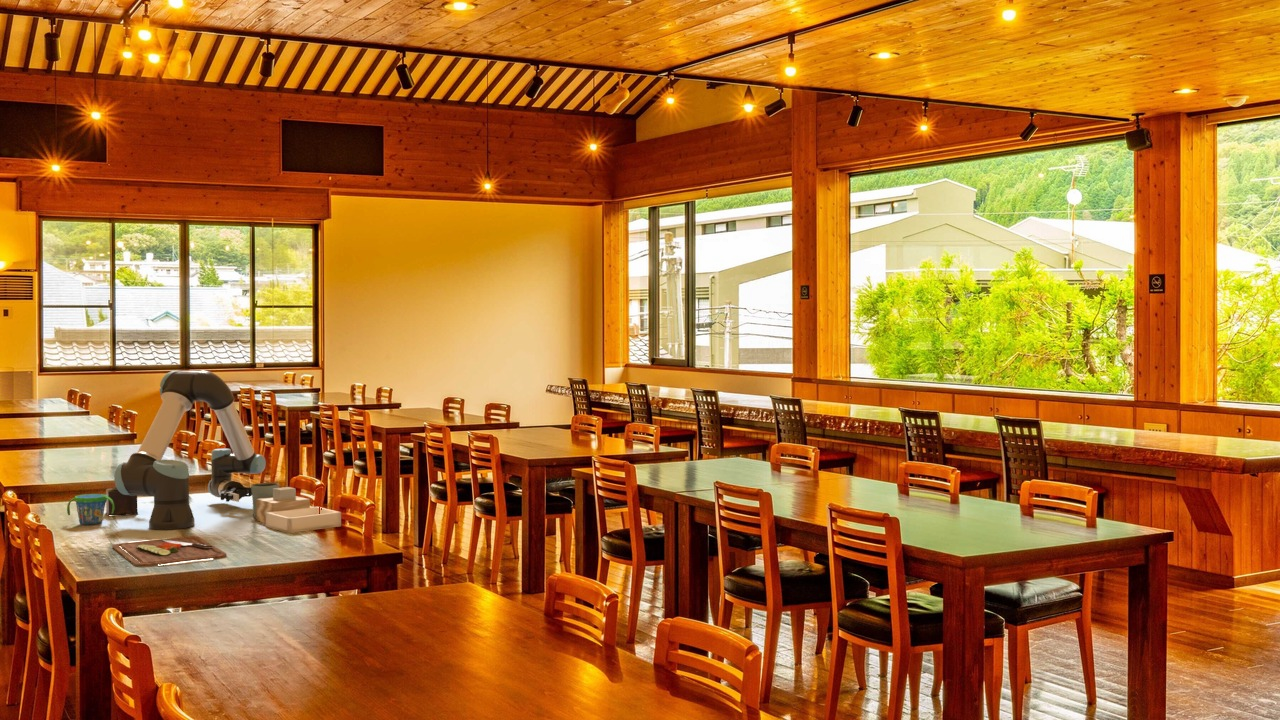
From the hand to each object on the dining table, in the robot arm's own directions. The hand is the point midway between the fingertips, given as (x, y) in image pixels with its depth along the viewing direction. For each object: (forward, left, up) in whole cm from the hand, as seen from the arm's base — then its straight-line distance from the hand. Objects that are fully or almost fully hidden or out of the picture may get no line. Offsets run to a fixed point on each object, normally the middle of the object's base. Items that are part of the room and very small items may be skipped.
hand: (255, 496), depth 454 cm
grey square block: (-7, -24, +2) cm, 25 cm away
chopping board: (-66, -39, -7) cm, 76 cm away
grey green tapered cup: (-3, -9, -7) cm, 11 cm away
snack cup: (-48, +31, -7) cm, 57 cm away
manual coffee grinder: (-26, +41, -7) cm, 49 cm away
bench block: (-6, -23, -6) cm, 25 cm away
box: (-11, -39, -6) cm, 41 cm away
